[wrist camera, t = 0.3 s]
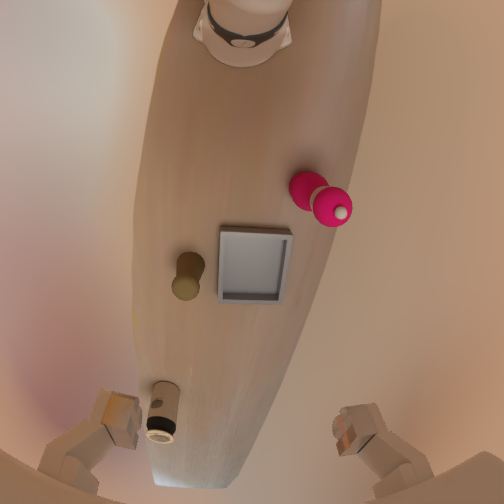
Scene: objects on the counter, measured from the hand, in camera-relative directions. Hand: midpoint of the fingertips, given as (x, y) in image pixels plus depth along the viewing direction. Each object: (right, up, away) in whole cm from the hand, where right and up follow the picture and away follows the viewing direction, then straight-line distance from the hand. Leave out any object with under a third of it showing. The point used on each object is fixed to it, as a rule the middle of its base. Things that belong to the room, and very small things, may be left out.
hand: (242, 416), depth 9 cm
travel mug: (-25, -35, +64) cm, 77 cm away
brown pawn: (-13, +4, +49) cm, 51 cm away
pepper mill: (+11, +19, +45) cm, 50 cm away
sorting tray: (0, +4, +50) cm, 50 cm away
